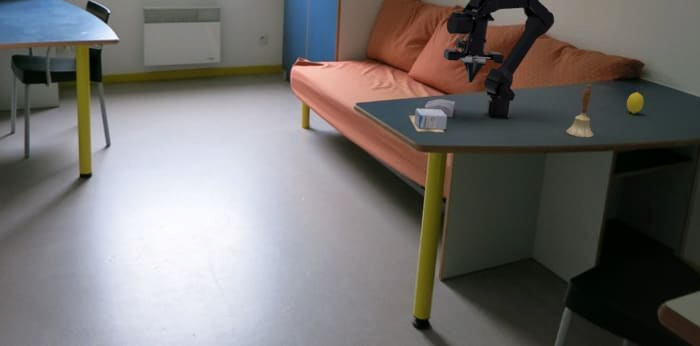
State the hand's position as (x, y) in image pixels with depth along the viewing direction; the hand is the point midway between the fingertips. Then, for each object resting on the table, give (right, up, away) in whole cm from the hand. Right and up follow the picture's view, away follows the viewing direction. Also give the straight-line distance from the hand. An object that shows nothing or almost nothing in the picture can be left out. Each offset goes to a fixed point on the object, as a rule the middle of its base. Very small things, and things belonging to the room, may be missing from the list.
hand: (470, 82), depth 238 cm
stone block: (-9, -9, +10) cm, 16 cm away
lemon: (+63, -9, +25) cm, 68 cm away
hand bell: (+34, -17, -5) cm, 39 cm away
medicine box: (-10, -13, -10) cm, 19 cm away
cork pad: (-15, -14, -7) cm, 22 cm away
